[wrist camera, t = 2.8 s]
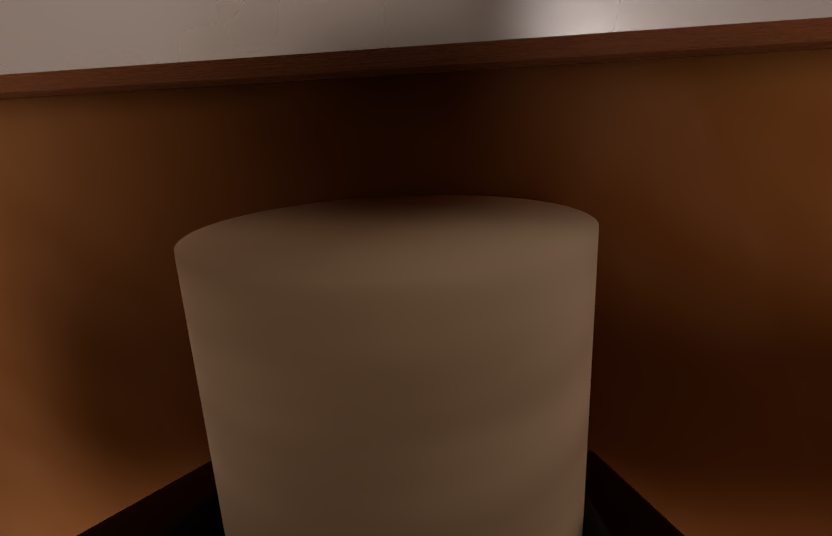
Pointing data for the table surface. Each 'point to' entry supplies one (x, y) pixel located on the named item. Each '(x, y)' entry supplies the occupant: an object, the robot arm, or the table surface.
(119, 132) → the table surface
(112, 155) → the table surface
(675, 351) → the table surface
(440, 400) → the roller
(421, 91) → the table surface
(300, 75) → the grey rectangular tray
